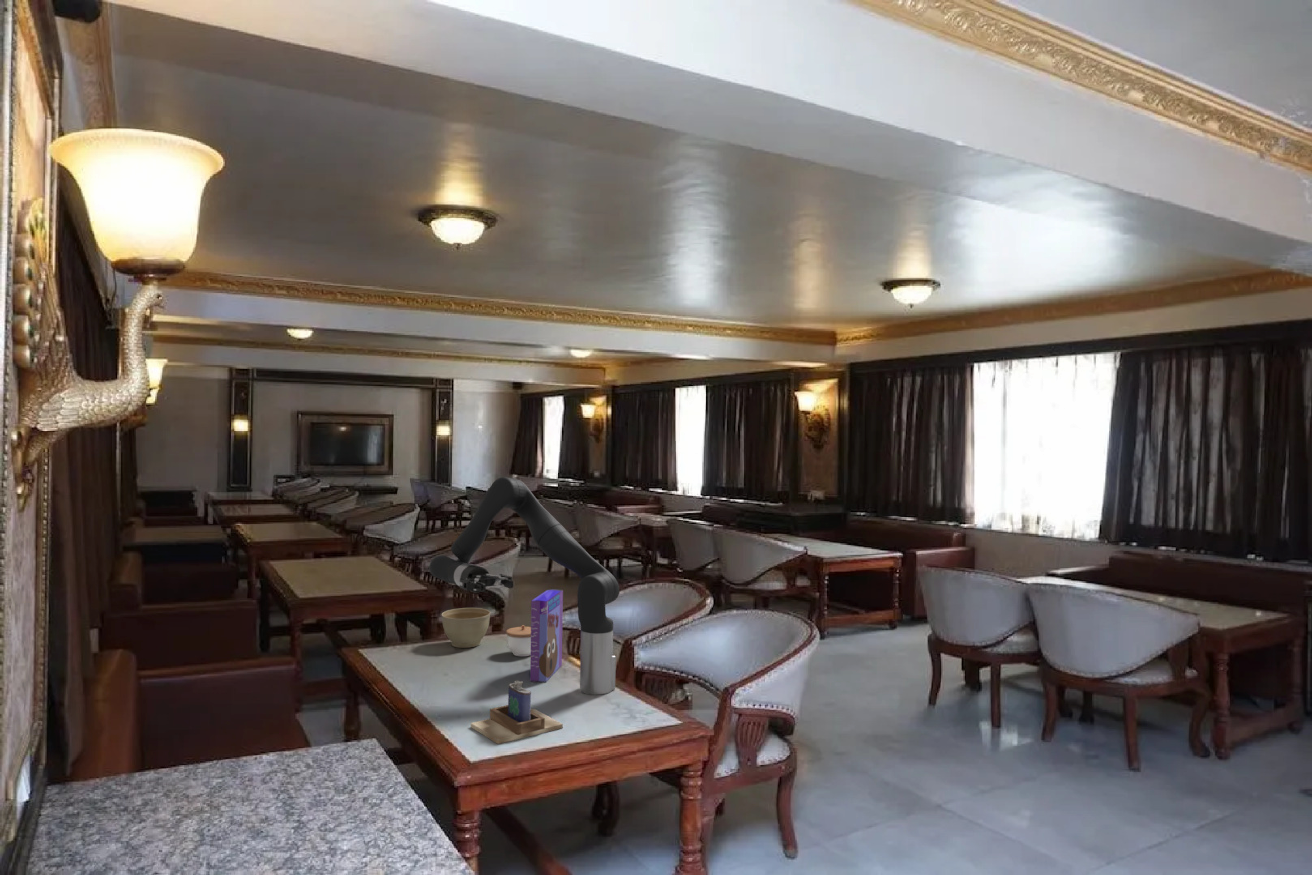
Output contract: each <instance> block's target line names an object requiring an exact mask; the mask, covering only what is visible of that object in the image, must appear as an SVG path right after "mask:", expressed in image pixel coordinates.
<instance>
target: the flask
mask: <svg viewBox="0 0 1312 875" xmlns="http://www.w3.org/2000/svg"><path fill="white" fill-rule="evenodd" d="M522 684H523V681H522V680H521V681H520V680H514V682H513V683H509V684H508V698H507V699H508V702H507V705H508V717H510V718H512V719H514V720H515V721H517V722H519V723H520V722H525V721H529V720H530V710H531V709H532V707H531V700H532V698H531V697H532V691H530V690H528V689H526V688H524V687H522V686H523V685H522Z"/></svg>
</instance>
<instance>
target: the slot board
mask: <svg viewBox="0 0 1312 875" xmlns="http://www.w3.org/2000/svg"><path fill="white" fill-rule="evenodd" d="M470 728H471V729H473V730H475V731H477V732H478V733H479V734H481V735H483V736H484V737H486V738H487V739H489V740H491V741H493V742H494V743H496V744H497V745H500V744H503V743H509V742H512V741H517V740H520V739H524V738H528V737H532V736H536V735H541V734H544V733H545V734H546V733H548V732H553V731H557V730H560V729H563V723H562V722H560V721H557V720H556V719H554V718H552V717H550V716H548V715H546V714H545V713H543V712H541V711H539V710H537V709H535V708H531V710H530V720H529V721H525V722H520V723H519V722H517V721H515V720H514V719H512V718H510V717H508V704H507V705H506V704H505V705H502V706H498V707H493V708H490V709H489V718H487V719H484V720H479V721H478V720H477V721H474V722H470Z"/></svg>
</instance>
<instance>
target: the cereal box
mask: <svg viewBox="0 0 1312 875" xmlns="http://www.w3.org/2000/svg"><path fill="white" fill-rule="evenodd" d="M563 599H564V590H563V589H555V588H552V589H550V588H549V589H547V590H545V591H543V592H542V593H540V594H539V595H538V596H536V597H535V598H533V599H532V600H531V602H530V603H531V606H530V607H531V608H530V612H531V613H530V627H531V655H530V672H529V675H530V676H529V677H530V678H529V681H530V683H531V682H532V683H547V682H548V681H549V680H550V679H551V678H552V677H553V676H554V675H555V673H557V671H558V670H560V668H562V666H563V616H564V614H563V613H564V612H563V606H564V600H563Z"/></svg>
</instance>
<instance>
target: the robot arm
mask: <svg viewBox="0 0 1312 875" xmlns="http://www.w3.org/2000/svg"><path fill="white" fill-rule="evenodd" d="M503 509H509V510H511V511H512V510H513V512H515V514H517V515H518V516H519V517H520V518H521V519H522V520H523V521H524V523H526V525H527V527H528V529H529V531H530V535H531V537H532V540H533V541H534V542H535V545H537V546H538V548H539V549H540V550H541V551H542V552H543V553H544V554H545V555H546V556H547V557H548V558H549V559H551V561H553V562H555V563H557V564H559V565H560V566H562V567H564V568H566V569H567V570H570V571H572V572H573V573H574V574H576V575H577V576H578V577H579V578H580V581H579V584H578V586H577V616H578V617H577V618H578V621H579V624H580V652H579V653H580V654H579V655H580V656H579V657H580V658H579V659H580V662H579V663H580V664H579V666H580V667H579V668H580V669H579V675H580V676H579V690H580V692H581V693H584V694H587V695H605V694H608V693H610V692H612V691H614V690H616V663H617V662H616V656H615V655H613V654H614V620H613V619H612V618H610V617H607V615H606V614H607V613H606V605H608V604H611V603H612V602H614V601H616V600H617V599H618V597H619V595H620V586H619V585H620V584H619V582H618V580H617V579H616V576H614V575H613V574H612V573H611V572H610V571H609V570H608V569H606V568H605V567H604V566H603V565H602V564H600V563H599V562H598V561H597V560H596V559H595V558H593V556H591V555H590V553H588V552H587V551H586V549H585V548H583V546H582V545H581V544H580V543H579V542H578V541H577V540H576V539H575V538H574V537H573V536H572V535H571V533H570V532H569V531H568V530H567V529H566V528H565V527H564V526H563V525H562V524H561V523H560V522H559V521H558V520H557V519H556V517H554V516H553V515H552V514H551V513H550V512H549V511H548V510H547V509H546V508H545V507H544V506H543V505H542V504H541V503H540V502H539V500H538V498H536V496H535V495H534V494H533V492H532V491H531V490H530V488H529V487H528V486H527V484H526V483H524V481H522V480H520V479H517V478H514V477H513V478H512V477H507V476H504V477H503V476H501V477H499V478H497V479H495V480H494V481H493V482H492V484H491V485H490V487H489V488H488V490H487V491H486V494H485V495H484V497H483V499H482V501H481V502H480V504H479V506H478V508H477V510H476V512H475V513H474V514H473V517H472V518H471V520H470V521H469V522H468V524H467V525H466V526H465V527H464V529H463V531H462V532H460V534H459V535H458V537H457V538H456V539H455V540H454V542H453V543H452V545H451V547H450V550H451V553H452V554H453V555H454V557H456V558H457V559H456V560H455V559H453V558H452V557H449V556H446V555H443V554H440V555H437V556H435V557H434V558H432V560H431V561H430V563H429V568H428V569H429V572H430V575H432V576H433V577H434V578H436V579H439V580H442V581H444V582H446V583H448V584H453V585H455V586H458V587H459V588H460V589H463V590H464V591H467V592H472V593H475V594H477V593H478V594H479V593H481V592H482V593H483V592H486V591H487V590H486V589H490V588H492V589H493V588H494V589H498V588H500V587H501V588H502V587H504V588H507V589H513V588H514V581H513V577H512V576H511V575H507V574H502V573H499V574H498V575H497V574H491V573H489V571H488V570H487V569H486V568H485V567H482V566H481V565H480V566H479V565H475V564H473V563H470V561H471V559H472V557H473V556H474V554H475V553H476V552H477V550H479V548H480V547H481V545H482V544H484V541H485V539H486V538H487V535H488V532H489V528H490V525H491V524H492V521H493V520H494V518H496V516H497V515H498V514H499V513H500V512H501V511H502V510H503Z"/></svg>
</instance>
